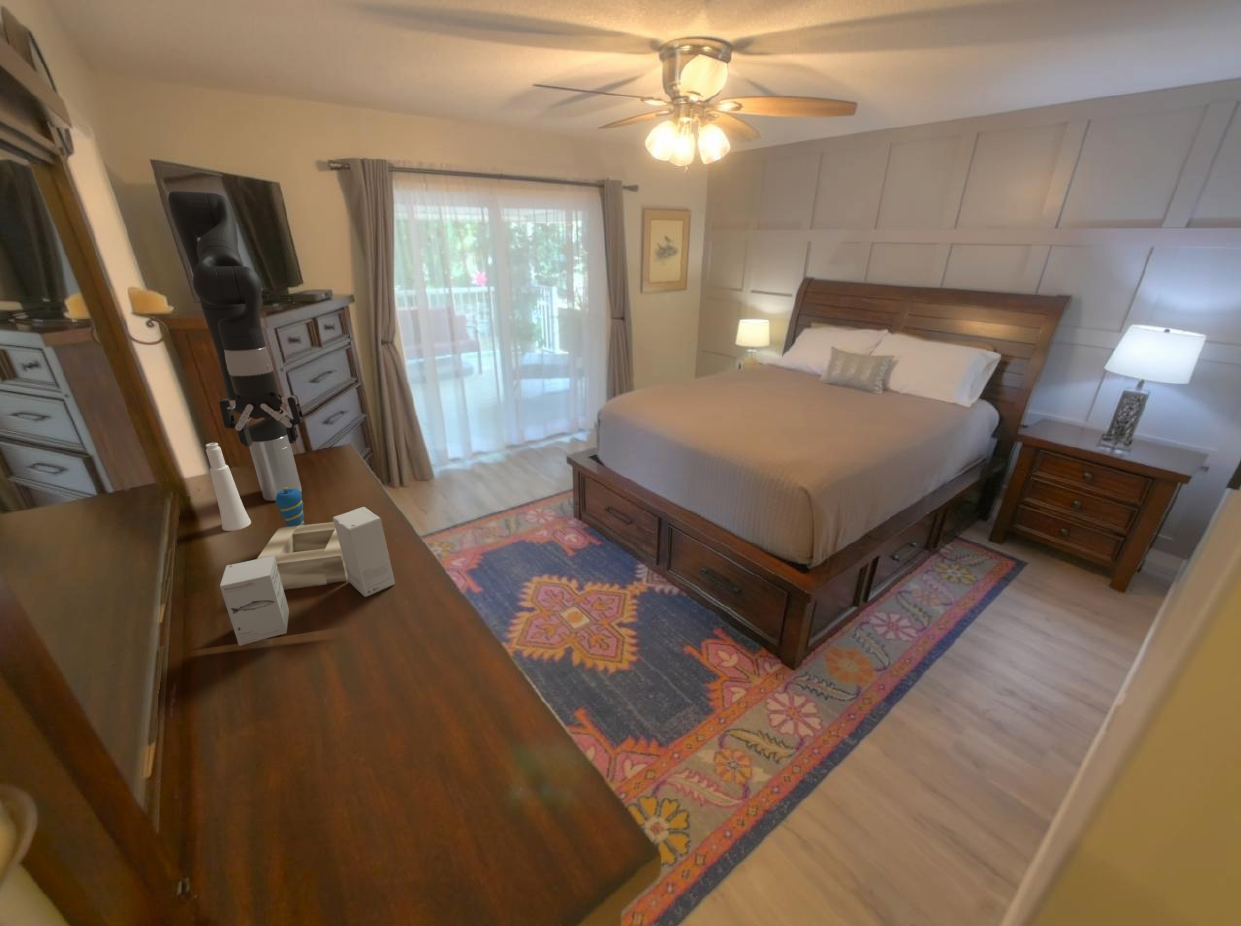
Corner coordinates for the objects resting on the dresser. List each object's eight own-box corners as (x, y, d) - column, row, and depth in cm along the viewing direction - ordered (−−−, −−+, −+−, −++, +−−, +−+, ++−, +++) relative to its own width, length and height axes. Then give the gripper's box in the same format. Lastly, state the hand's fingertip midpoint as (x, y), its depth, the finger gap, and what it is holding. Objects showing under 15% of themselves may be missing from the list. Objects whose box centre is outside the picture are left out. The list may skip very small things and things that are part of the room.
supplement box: (238, 647, 88) (216, 586, 83) (244, 622, 94) (225, 564, 89) (288, 634, 91) (270, 574, 86) (291, 610, 97) (274, 553, 92)
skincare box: (395, 585, 105) (383, 518, 99) (363, 599, 100) (347, 530, 95) (378, 569, 110) (365, 504, 104) (346, 582, 106) (331, 515, 100)
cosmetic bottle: (252, 528, 126) (227, 445, 118) (222, 535, 123) (194, 450, 115) (251, 518, 131) (227, 438, 123) (222, 525, 128) (196, 442, 120)
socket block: (285, 552, 116) (278, 527, 114) (361, 543, 120) (356, 519, 118) (259, 593, 102) (251, 566, 100) (346, 581, 106) (340, 555, 104)
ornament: (317, 537, 122) (303, 480, 117) (303, 548, 118) (288, 489, 112) (297, 536, 123) (282, 479, 117) (282, 547, 118) (266, 488, 113)
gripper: (295, 365, 109) (312, 436, 116) (219, 367, 106) (240, 440, 112) (284, 372, 103) (302, 447, 109) (202, 375, 99) (225, 452, 106)
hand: (271, 444), depth 111 cm, fingers open, 8 cm apart
